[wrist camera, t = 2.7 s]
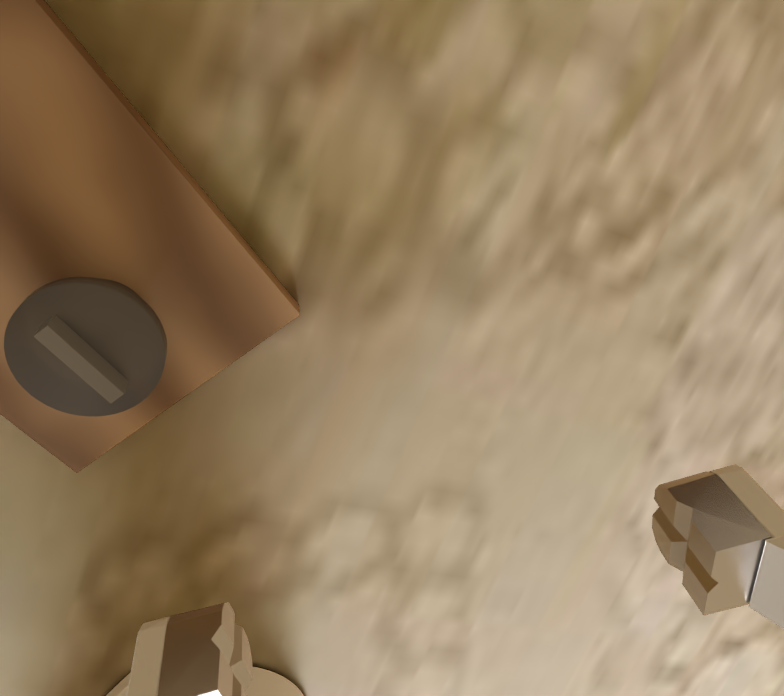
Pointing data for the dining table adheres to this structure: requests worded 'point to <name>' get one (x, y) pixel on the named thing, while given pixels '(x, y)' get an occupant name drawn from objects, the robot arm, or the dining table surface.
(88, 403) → the control knob
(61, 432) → the walnut board
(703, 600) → the robot arm
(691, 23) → the dining table surface
